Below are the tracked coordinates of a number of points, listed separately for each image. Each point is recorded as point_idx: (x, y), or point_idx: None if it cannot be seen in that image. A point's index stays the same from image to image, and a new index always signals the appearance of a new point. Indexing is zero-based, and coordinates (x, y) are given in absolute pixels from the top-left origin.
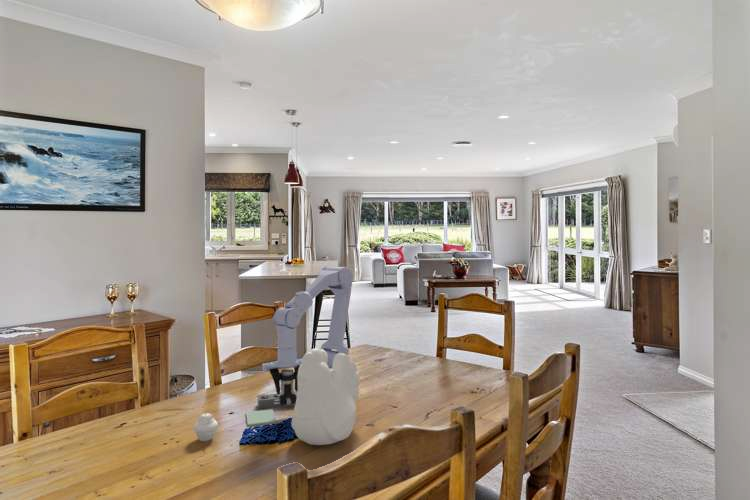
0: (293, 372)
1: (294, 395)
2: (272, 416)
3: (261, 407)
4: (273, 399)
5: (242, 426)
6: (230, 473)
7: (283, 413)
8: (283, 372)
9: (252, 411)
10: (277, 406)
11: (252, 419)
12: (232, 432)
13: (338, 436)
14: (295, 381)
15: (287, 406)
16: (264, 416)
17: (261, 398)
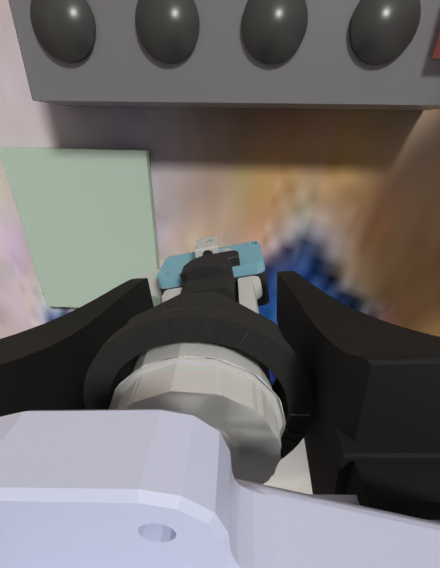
0: (278, 426)
1: (258, 304)
2: (146, 260)
3: (76, 104)
4: (137, 101)
5: (31, 294)
6: None
7: (203, 209)
8: None
9: (33, 152)
10: (176, 106)
11: (57, 263)
12: (8, 331)
13: None
14: (292, 315)
15: (239, 107)
16: (108, 248)
17: (42, 49)
